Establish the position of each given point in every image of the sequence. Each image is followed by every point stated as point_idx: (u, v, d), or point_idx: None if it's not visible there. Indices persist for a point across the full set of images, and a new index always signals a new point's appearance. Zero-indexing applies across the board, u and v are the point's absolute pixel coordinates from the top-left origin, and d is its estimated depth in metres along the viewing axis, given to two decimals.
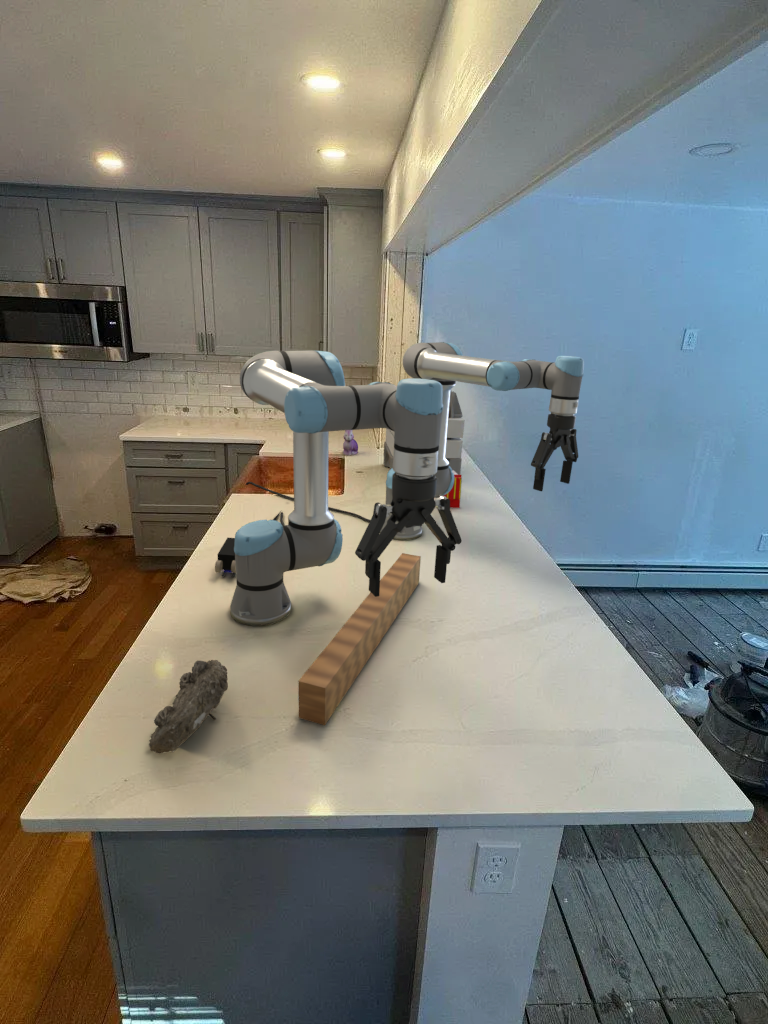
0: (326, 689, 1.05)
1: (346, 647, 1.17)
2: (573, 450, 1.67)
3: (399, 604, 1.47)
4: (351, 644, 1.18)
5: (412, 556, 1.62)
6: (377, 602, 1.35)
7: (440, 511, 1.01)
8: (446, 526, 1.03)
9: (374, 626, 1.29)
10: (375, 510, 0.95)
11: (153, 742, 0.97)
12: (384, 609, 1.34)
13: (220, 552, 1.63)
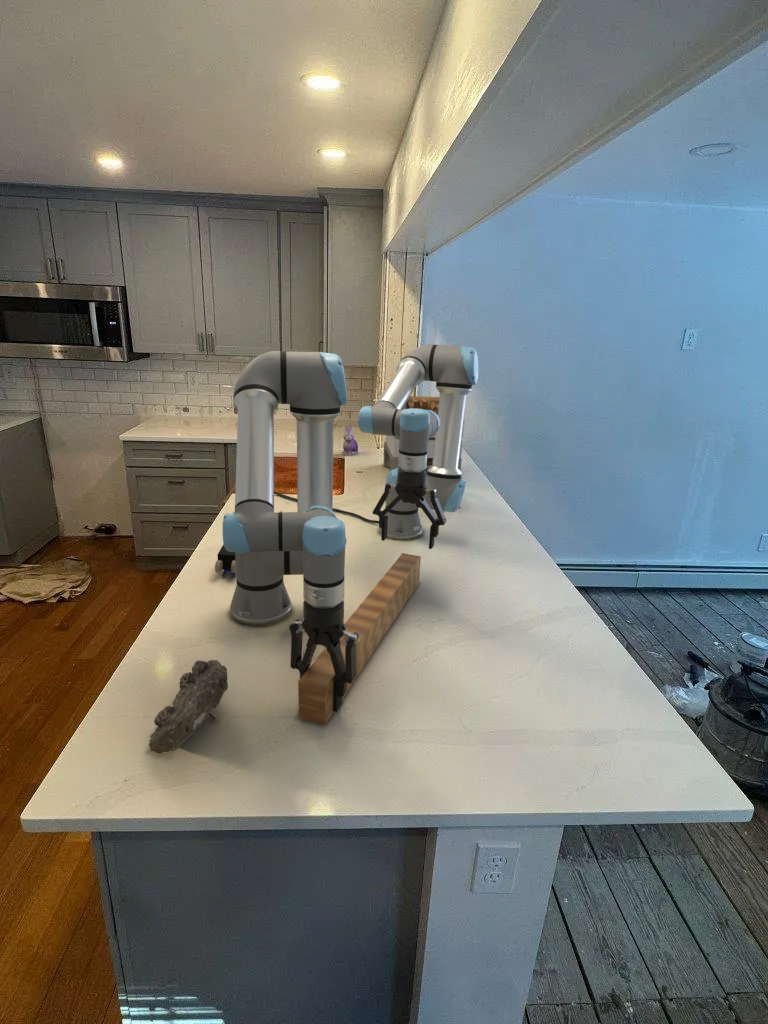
0: (326, 689, 1.05)
1: None
2: None
3: (399, 604, 1.47)
4: None
5: (412, 556, 1.62)
6: (377, 602, 1.35)
7: None
8: None
9: (374, 626, 1.29)
10: None
11: (153, 742, 0.97)
12: (384, 609, 1.34)
13: (220, 552, 1.63)
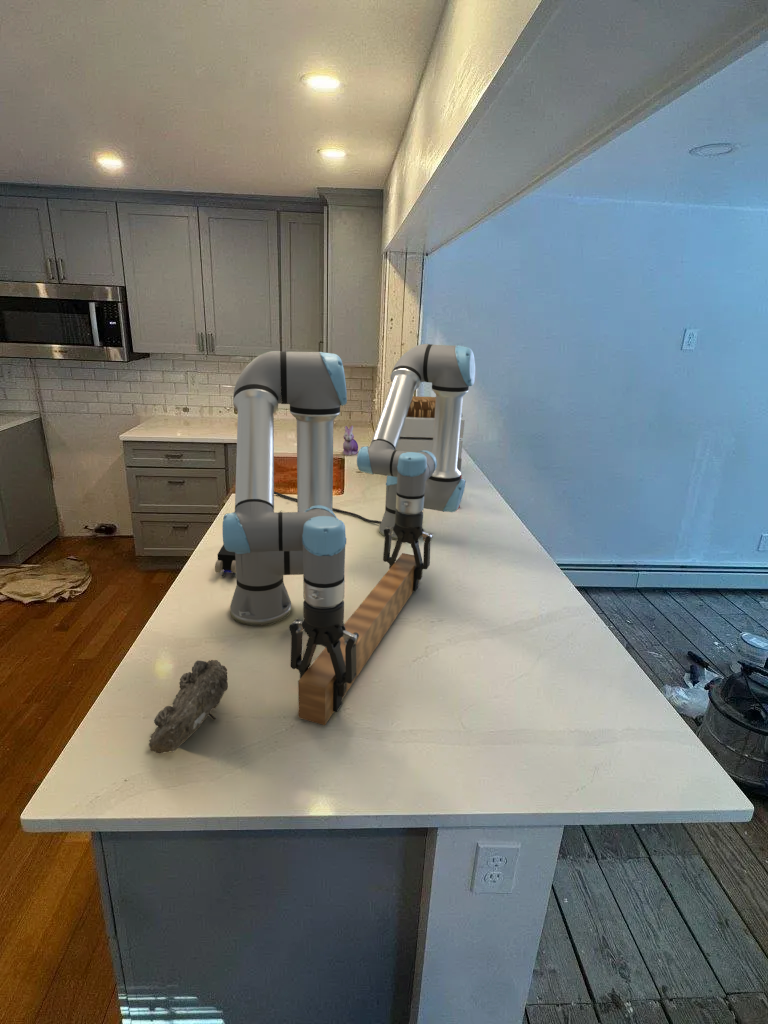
0: (326, 689, 1.05)
1: None
2: None
3: (399, 604, 1.47)
4: None
5: (412, 556, 1.62)
6: (377, 602, 1.35)
7: None
8: None
9: (374, 626, 1.29)
10: None
11: (153, 742, 0.97)
12: (384, 609, 1.34)
13: (220, 552, 1.63)
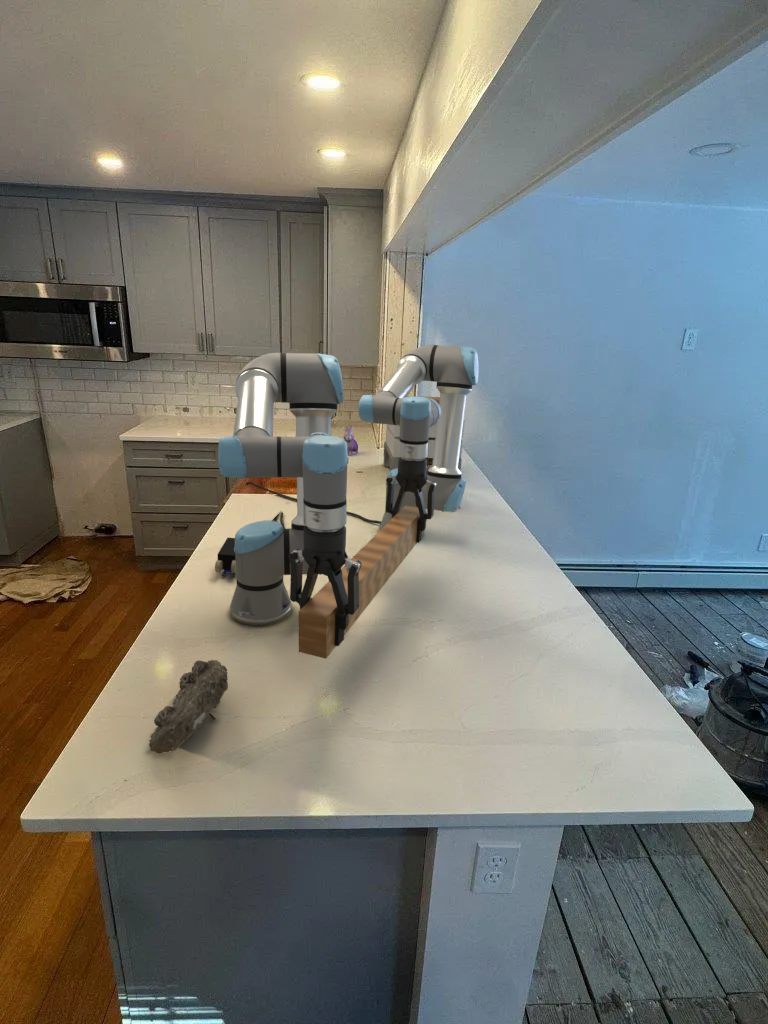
0: (328, 620, 1.01)
1: None
2: None
3: (402, 552, 1.42)
4: None
5: (415, 508, 1.57)
6: (379, 546, 1.31)
7: None
8: None
9: (377, 568, 1.24)
10: None
11: (153, 742, 0.97)
12: (387, 552, 1.29)
13: (220, 552, 1.63)
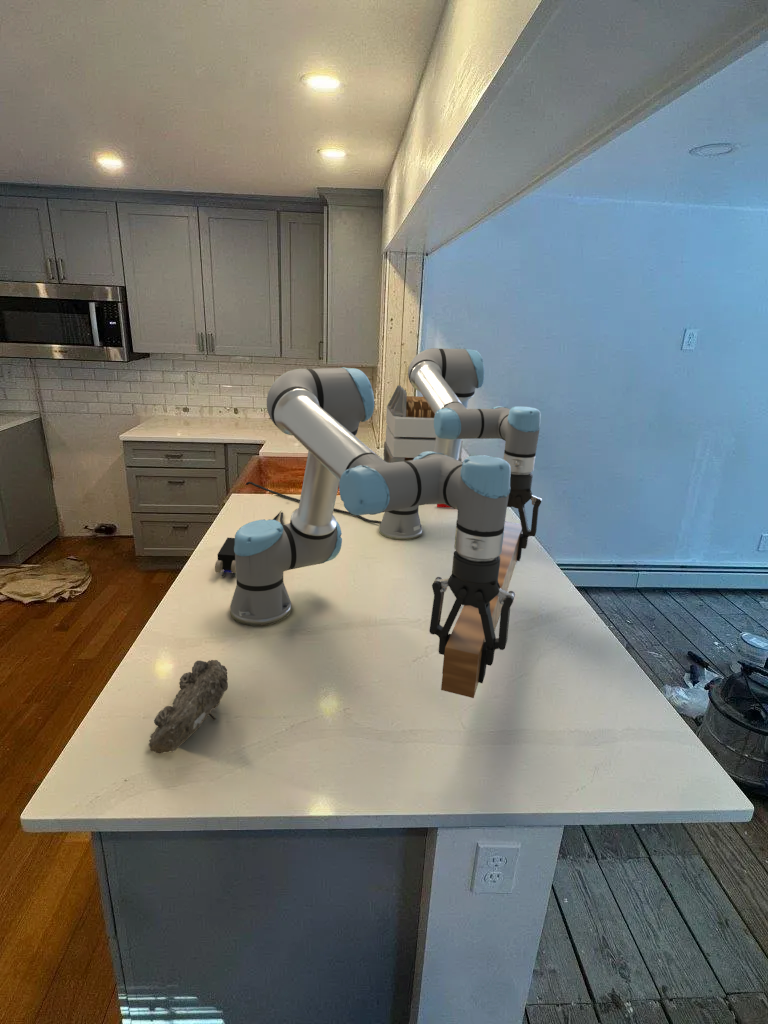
0: (479, 657, 0.92)
1: None
2: None
3: (511, 573, 1.34)
4: None
5: (514, 524, 1.48)
6: None
7: None
8: None
9: None
10: None
11: (153, 742, 0.97)
12: (506, 575, 1.21)
13: (220, 552, 1.63)
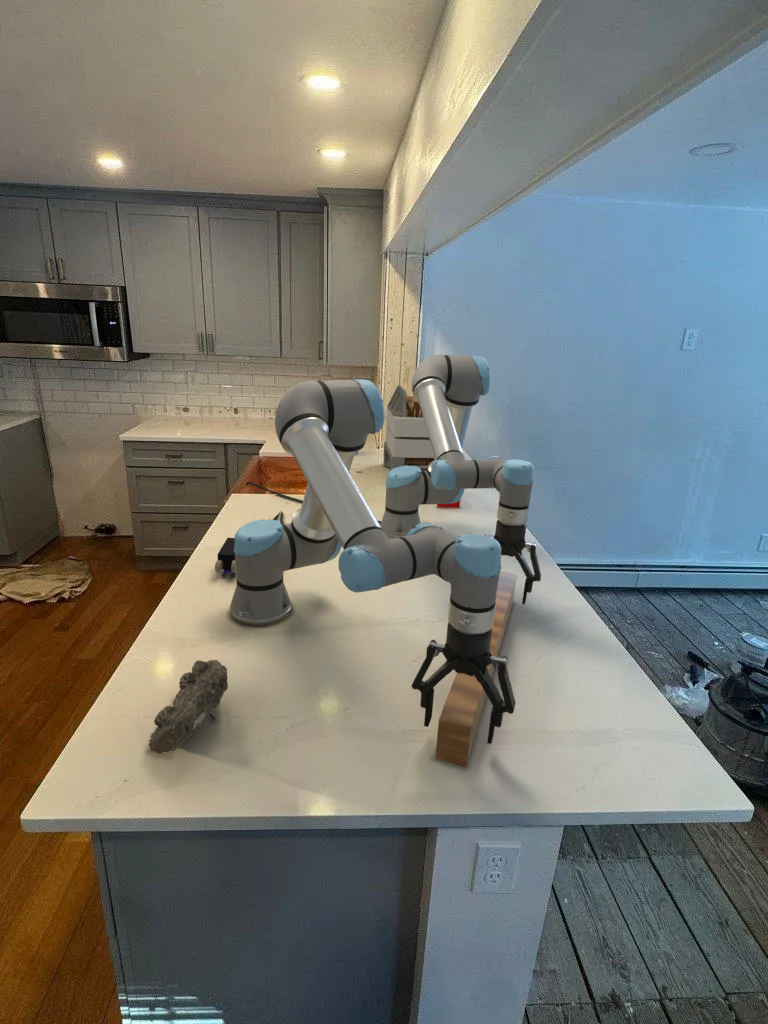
0: (471, 729, 0.97)
1: (476, 679, 1.09)
2: (533, 569, 1.45)
3: (504, 627, 1.39)
4: None
5: (508, 574, 1.53)
6: None
7: None
8: None
9: (494, 654, 1.20)
10: None
11: (153, 742, 0.97)
12: (499, 634, 1.26)
13: (220, 552, 1.63)
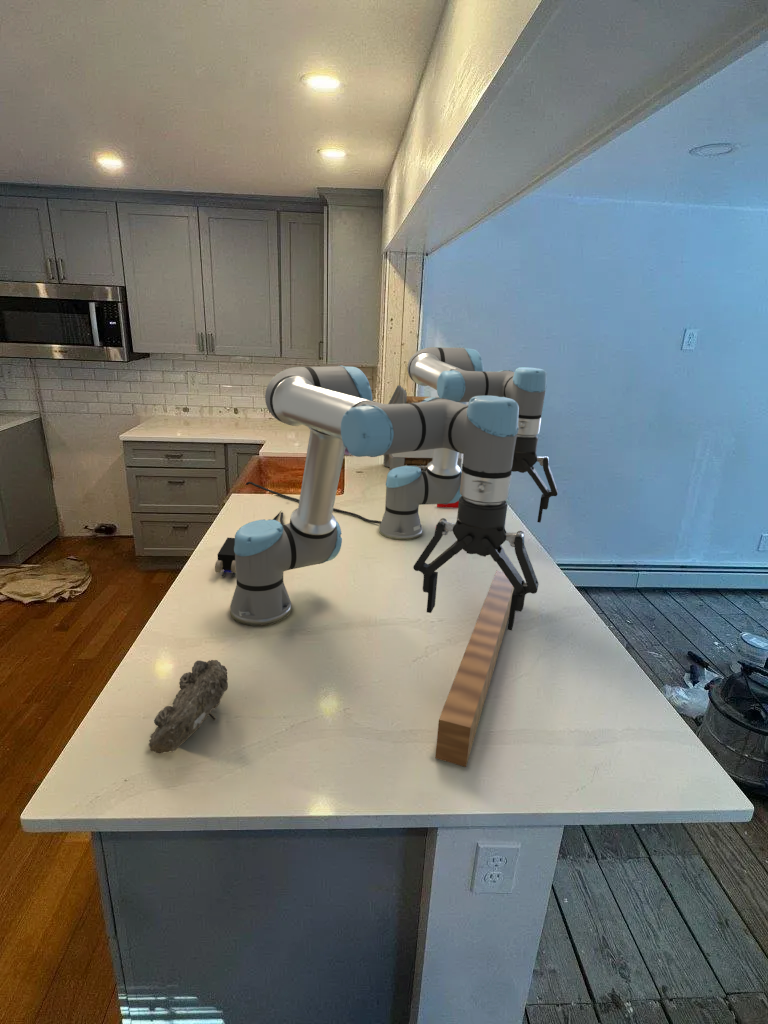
0: (471, 729, 0.97)
1: (476, 679, 1.09)
2: (549, 484, 1.38)
3: (504, 627, 1.39)
4: (480, 676, 1.10)
5: None
6: (490, 627, 1.27)
7: None
8: None
9: (494, 654, 1.20)
10: None
11: (153, 742, 0.97)
12: (499, 634, 1.26)
13: (220, 552, 1.63)
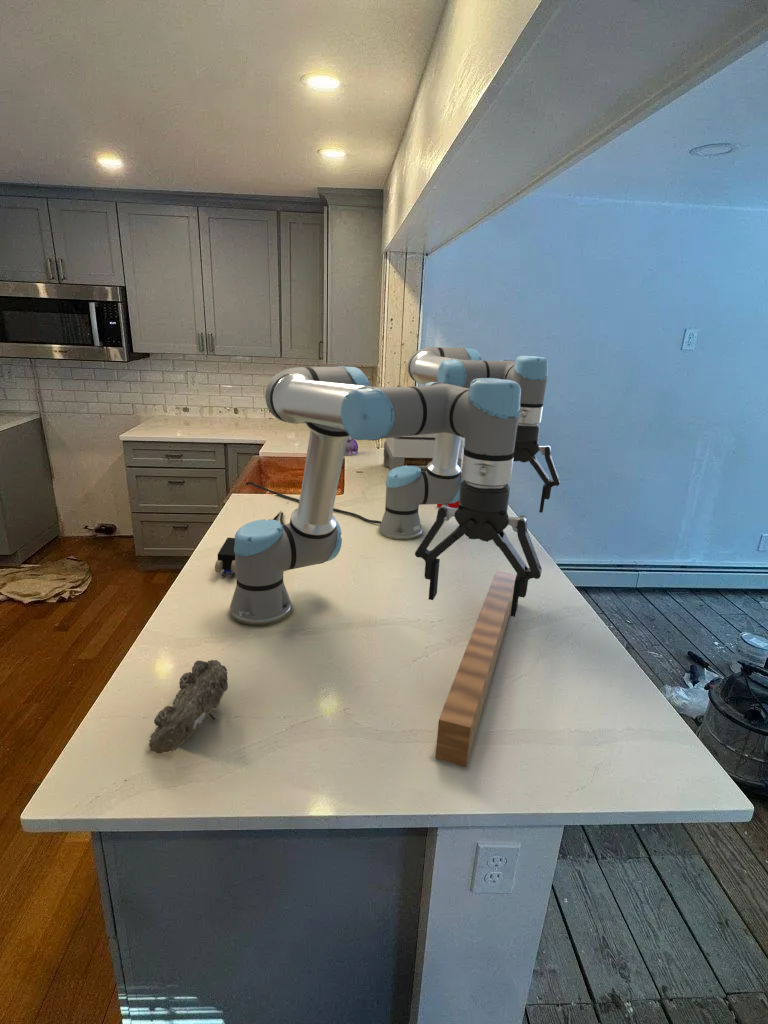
0: (471, 729, 0.97)
1: (476, 679, 1.09)
2: (551, 474, 1.37)
3: (504, 627, 1.39)
4: (480, 676, 1.10)
5: (508, 574, 1.53)
6: (490, 627, 1.27)
7: None
8: None
9: (494, 654, 1.20)
10: None
11: (153, 742, 0.97)
12: (499, 634, 1.26)
13: (220, 552, 1.63)
